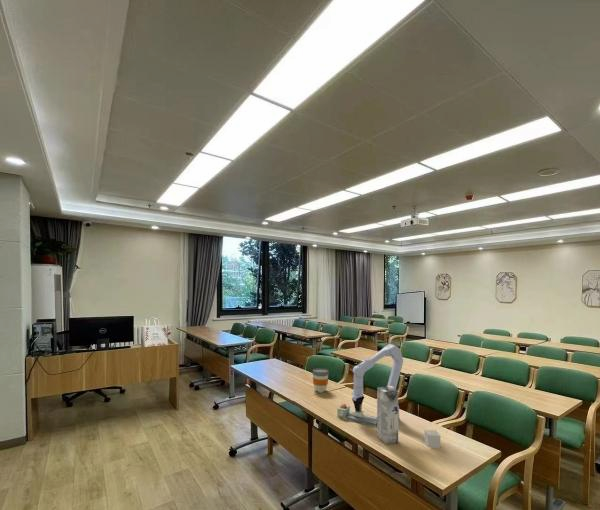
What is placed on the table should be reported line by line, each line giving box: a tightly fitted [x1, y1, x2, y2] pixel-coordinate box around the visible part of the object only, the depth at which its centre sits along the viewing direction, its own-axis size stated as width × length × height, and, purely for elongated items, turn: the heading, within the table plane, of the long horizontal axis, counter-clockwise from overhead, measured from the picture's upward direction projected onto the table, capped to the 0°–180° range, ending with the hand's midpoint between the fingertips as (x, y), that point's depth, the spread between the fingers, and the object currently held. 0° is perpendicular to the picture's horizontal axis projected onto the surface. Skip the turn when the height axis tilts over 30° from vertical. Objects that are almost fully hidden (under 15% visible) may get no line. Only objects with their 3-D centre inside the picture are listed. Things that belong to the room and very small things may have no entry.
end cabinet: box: [336, 404, 351, 419], centre depth 198 cm, size 5×8×5 cm, turn 151°
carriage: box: [352, 403, 364, 417], centre depth 194 cm, size 5×4×7 cm
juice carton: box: [376, 386, 399, 445], centre depth 168 cm, size 9×10×27 cm
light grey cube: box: [423, 429, 442, 449], centre depth 163 cm, size 6×6×6 cm
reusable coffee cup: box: [312, 368, 330, 393], centre depth 247 cm, size 13×13×15 cm
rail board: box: [344, 411, 377, 427], centre depth 192 cm, size 18×10×3 cm, turn 61°
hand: (358, 409), depth 194 cm, fingers closed on carriage, 3 cm apart
